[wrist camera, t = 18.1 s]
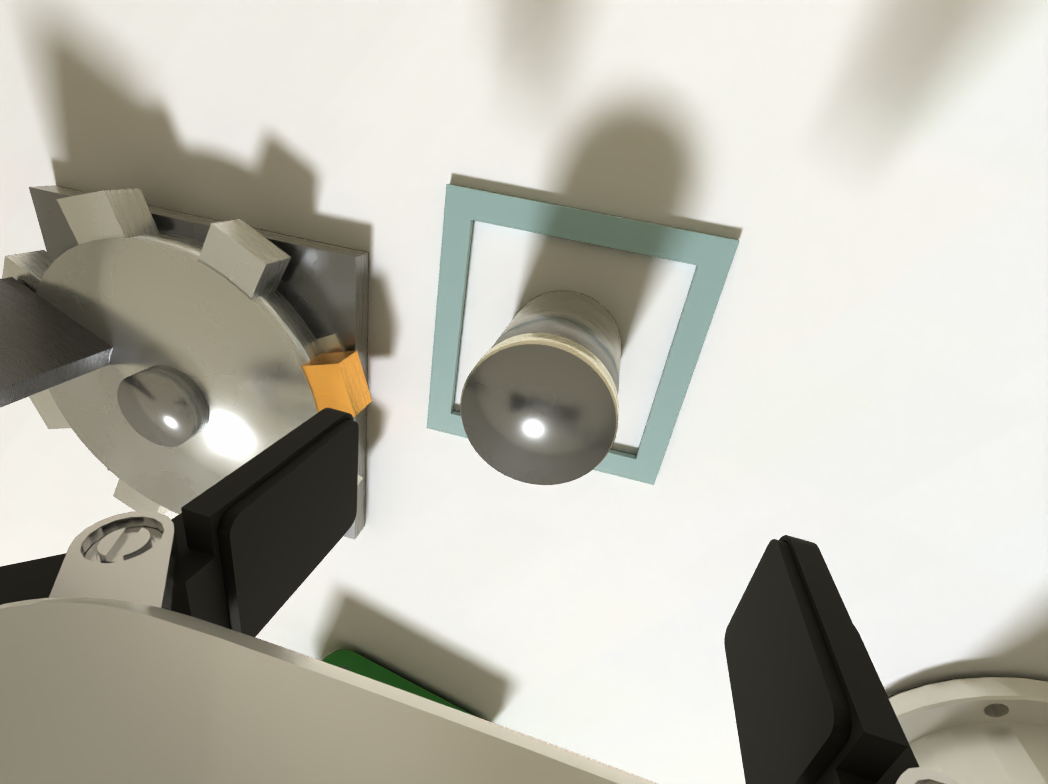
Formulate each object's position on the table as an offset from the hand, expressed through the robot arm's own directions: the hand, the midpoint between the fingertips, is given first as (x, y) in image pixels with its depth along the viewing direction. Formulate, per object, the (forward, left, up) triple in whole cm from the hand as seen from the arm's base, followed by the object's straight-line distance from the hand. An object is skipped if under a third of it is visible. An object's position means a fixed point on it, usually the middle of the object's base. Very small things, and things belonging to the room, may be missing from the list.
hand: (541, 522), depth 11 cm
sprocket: (+16, +4, -8) cm, 18 cm away
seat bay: (+1, -1, -9) cm, 9 cm away
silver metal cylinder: (+1, -1, -9) cm, 9 cm away
